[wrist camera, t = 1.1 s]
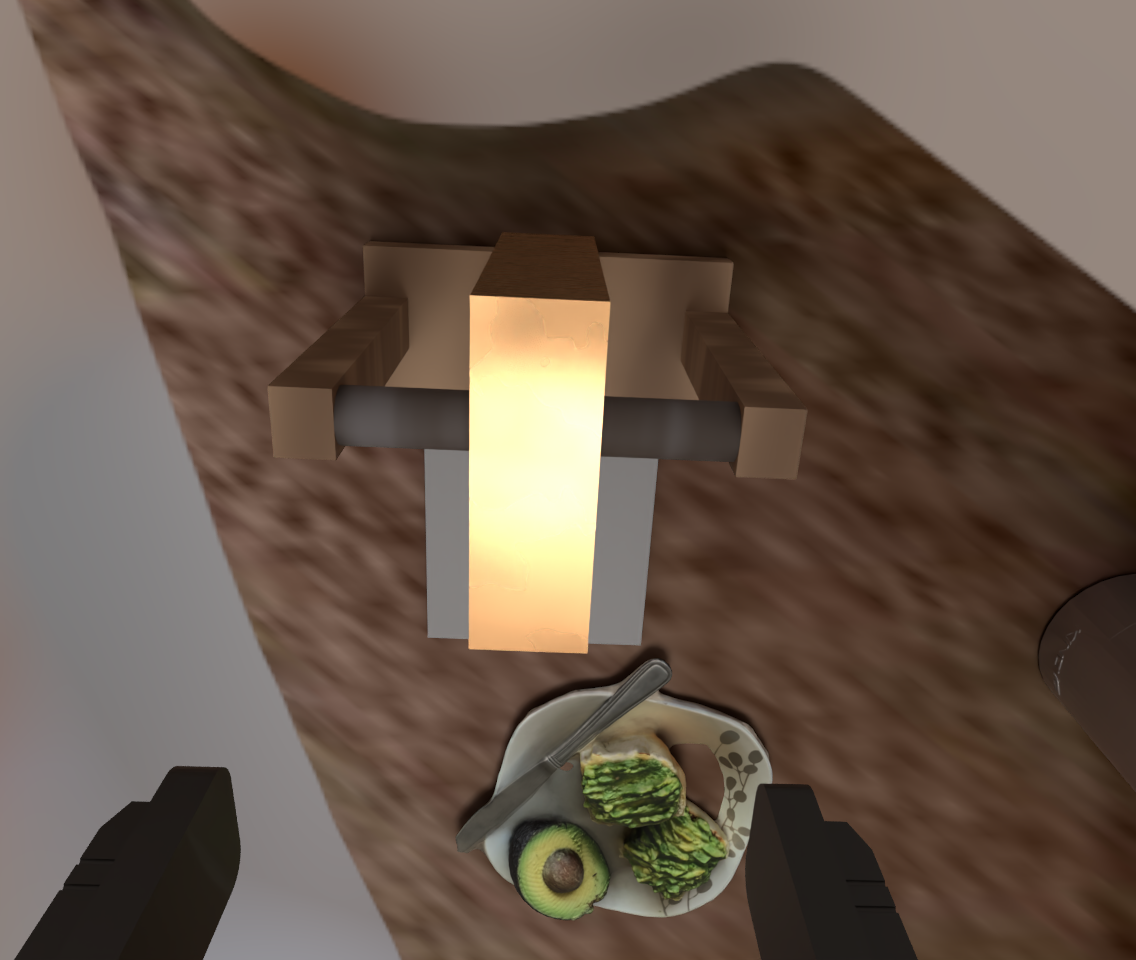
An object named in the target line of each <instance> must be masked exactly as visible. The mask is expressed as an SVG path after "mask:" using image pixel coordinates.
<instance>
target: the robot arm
mask: <svg viewBox="0 0 1136 960" xmlns="http://www.w3.org/2000/svg"><path fill="white" fill-rule="evenodd" d="M1039 668H1040V672H1041V674H1042V677H1043V680H1044V682H1045V683H1046V685H1047V686H1048V687H1049V689H1050V690H1051V691H1052V693H1053V694H1054V695H1055V696H1056V697H1057V699H1058V700H1059V701H1060V702H1061V703H1062V705H1063V706H1064V707H1065V708H1066V709H1067V710H1068V712H1069V713H1070V714H1071V715H1072V716H1073V718H1074V719H1075V720H1076V721H1077V722H1078V724H1079V725H1080V726H1081V727H1082V728H1083V730H1084V731H1085V732H1086V733H1087V735H1088V736H1089V737H1090V738H1091V739H1092V741H1093V742H1094V743H1095V744H1096V745H1097V746H1098V748H1099V749H1100V750H1101V751H1102V752H1103V754H1104V755H1105V756H1106V757H1107V758H1108V760H1109V761H1110V762H1111V763H1112V764H1113V765H1114V767H1115V768H1116V769H1117V770H1118V771H1119V773H1120V774H1121V775H1122V776H1123V777H1124V778H1125V780H1126V781H1127V782H1128V783H1129V784H1130V786H1131V787H1132V788H1133V789H1134V790H1135V791H1136V574H1132V575H1124V576H1118V577H1115V578H1112V579H1108V580H1105V581H1102V582H1100V583H1098V584H1096V585H1094V586H1092V587H1090V588H1087V589H1085V590H1084V591H1082V592H1081V593H1080V594H1078V595H1077V596H1075V597H1074V598H1073V599H1071V600H1070V601H1069V602H1068V603H1067V604H1066V605H1065V606H1064V607H1063V608H1062V609H1061V610H1060V611H1059V612H1058V613H1057V614H1056V615H1055V617H1054V618H1053V620H1052V621H1051V622H1050V624H1049V625H1048V627H1047V629H1046V631H1045V634H1044V636H1043V638H1042V640H1041V645H1040V650H1039ZM240 847H241V846H240V837H239V831H238V823H237V816H236V809H235V802H234V797H233V789H232V783H231V776H230V773H229V771H228V769H227V768H224V767H192V766H191V767H190V766H175V767H173V768H172V769H171V770H170V771H169V772H168V774H167V775H166V777H165V778H164V780H163V781H162V783H161V785H160V786H159V788H158V790H157V791H156V793H155V795H154V796H153V798H152V800H151V801H150V802H134V801H132V802H131V803H130V804H128V805H127V806H126V807H125V808H123V809H122V810H121V811H120V812H119V813H117V814H116V815H115V816H114V817H113V818H111V819H110V820H109V821H108V822H107V823H105V824H104V825H103V826H102V827H101V828H100V829H99V830H98V832H97V834H96V835H95V837H94V838H93V840H92V841H91V843H90V844H89V846H88V847H87V849H86V850H85V852H84V853H83V855H82V857H81V858H80V863H79V865H76V866H75V867H74V869H73V870H72V872H71V873H70V875H69V877H68V878H67V880H66V881H65V883H64V887H63V890H60V891H59V892H58V893H57V895H56V897H55V898H54V899H53V901H52V903H51V904H50V906H49V907H48V909H47V910H46V912H45V914H44V915H43V916H42V918H41V920H40V921H39V922H38V924H37V926H36V927H35V929H34V930H33V932H32V933H31V935H30V936H29V938H28V939H27V941H26V942H25V944H24V946H23V947H22V949H21V950H20V952H19V953H18V955H17V956H16V958H15V959H14V960H203V958H204V956H205V953H206V951H207V949H208V946H209V944H210V942H211V939H212V937H213V935H214V932H215V930H216V928H217V925H218V923H219V921H220V918H221V916H222V914H223V911H224V909H225V907H226V905H227V902H228V900H229V898H230V895H231V893H232V890H233V888H234V885H235V881H236V878H237V875H238V870H239V864H240V853H241V852H240V851H241V848H240ZM745 878H746V891H747V898H748V904H749V908H750V913H751V917H752V921H753V926H754V930H755V934H756V939H757V943H758V947H759V952H760V956H761V960H918V959H917V957H916V954H915V952H914V950H913V947H912V945H911V942H910V940H909V938H908V935H907V933H906V930H905V928H904V926H903V923H902V921H901V918H900V916H899V914H898V913H896V910H895V907H896V906H895V904H894V902H893V899H892V897H891V894H890V892H889V890H888V887H885V880H884V878H883V875H882V873H881V870H880V868H879V865H878V863H877V861H876V858H875V856H874V853H873V851H872V849H871V848H870V847H869V846H868V845H867V844H866V843H865V841H864V840H863V839H862V838H861V837H860V836H859V835H858V834H857V833H856V832H855V830H854V829H853V828H852V827H851V826H850V825H849V824H848V823H847V822H831V821H824V819H823V817H822V814H821V811H820V809H819V806H818V803H817V800H816V798H815V795H814V792H813V790H812V788H811V787H810V786H809V785H803V784H765V783H761V784H759V785H758V787H757V791H756V796H755V802H754V809H753V815H752V822H751V828H750V835H749V841H748V848H747V854H746V865H745Z"/></svg>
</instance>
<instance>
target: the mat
mask: <svg viewBox="0 0 1136 960" xmlns="http://www.w3.org/2000/svg"><path fill="white" fill-rule="evenodd" d="M657 467H658V459H649V458H625V457H601V456H600V468H599V483H598V498H597V513H596V529H595V544H594V559H593V574H592V589H591V604H590V620H589V635H588V643H592V644H619V645H641V637H642V626H643V616H644V605H645V594H646V584H647V573H648V562H649V552H650V541H651V531H652V520H653V509H654V499H655V488H656V477H657ZM425 504H426V558H427V612H428V637H430V638H457V639H469V451H459V450H435V449H425Z"/></svg>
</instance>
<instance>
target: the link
mask: <svg viewBox="0 0 1136 960" xmlns="http://www.w3.org/2000/svg"><path fill="white" fill-rule="evenodd" d="M609 316H610V298H609V294H608V290H607V286H606V282H605V278H604V274H603V270H602V266H601V262H600V258H599V254H598V250H597V246H596V242H595V238H594V237H590V236H569V235H549V234H528V233H507V232H502V234H501V236H500V238H499V240H498V242H497V244H496V246H495V248H494V250H493V252H492V253H491V255H490V257H489V259H488V261H487V263H486V265H485V267H484V269H483V271H482V273H481V275H480V277H479V279H478V281H477V283H476V285H475V286H474V288H473V290H472V292H471V294H470V429H469V649H481V650H508V651H535V652H562V653H587V650H588V635H589V620H590V604H591V589H592V574H593V559H594V544H595V529H596V513H597V498H598V483H599V468H600V453H601V438H602V423H603V407H604V392H605V377H606V362H607V347H608V332H609Z"/></svg>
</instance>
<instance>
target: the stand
mask: <svg viewBox="0 0 1136 960" xmlns="http://www.w3.org/2000/svg"><path fill="white" fill-rule="evenodd" d="M494 248H495V247H483V246H462V245H441V244H420V243H399V242H378V241H369V242H367V243H366V244H364V245H363V262H364V285H365V297H364V298H362V299H361V300H360V301H359V302H358V303H357V304H356V305H355V306H354V307H353V308H352V309H350V310H349V311H348V312H347V313H346V314H345V315H344V316H343V317H342V318H341V319H340V320H339V321H337V322H336V323H335V324H334V325H333V326H332V327H331V328H330V329H329V330H328V331H327V332H326V333H324V334H323V335H322V336H321V337H320V338H319V339H318V340H317V341H316V342H315V343H314V344H313V345H311V346H310V347H309V348H308V349H307V350H306V351H305V352H304V353H303V354H302V355H301V356H299V357H298V358H297V359H296V360H295V361H294V362H293V363H292V364H291V365H290V366H289V367H288V368H286V369H285V370H284V371H283V372H282V373H281V374H280V375H279V376H278V377H277V378H276V379H275V380H273V381H272V382H271V383H270V384H269V385H268V386H267V388H268V399H269V410H270V421H271V432H272V443H273V454H274V458H295V459H319V460H337V458H338V456H339V455H340V453H341V452H342V450H343V449H344V447H345V446H363V447H387V448H411V449H435V450H459V451H469V429H470V294H471V292H472V290H473V288H474V286H475V285H476V283H477V281H478V279H479V277H480V275H481V273H482V271H483V269H484V267H485V265H486V263H487V261H488V259H489V257H490V255H491V253H492V252H493V250H494ZM598 254H599V258H600V262H601V266H602V270H603V274H604V278H605V282H606V286H607V290H608V294H609V298H610V316H609V332H608V347H607V362H606V377H605V392H604V407H603V423H602V438H601V453H600V456H601V457H625V458H649V459H672V460H696V461H720V462H729V464H730V466H731V468H732V470H733V473H734V475H735V477H750V478H774V479H796V478H797V472H798V466H799V460H800V453H801V447H802V441H803V435H804V429H805V423H806V416H807V408H806V407H805V406H804V405H803V404H802V402H801V401H800V400H799V399H798V397H797V396H796V395H795V394H794V393H793V391H792V390H791V389H790V388H789V387H788V385H787V384H786V383H785V382H784V380H783V379H782V378H781V377H780V376H779V374H778V373H777V372H776V371H775V370H774V368H773V367H772V366H771V365H770V364H769V362H768V361H767V360H766V359H765V357H764V356H763V355H762V354H761V353H760V351H759V350H758V349H757V348H756V347H755V345H754V344H753V343H752V342H751V340H750V339H749V338H748V337H747V336H746V334H745V333H744V332H743V331H742V330H741V328H740V327H739V326H738V325H737V324H736V322H735V321H734V320H733V319H732V317H731V316H730V315H729V314H728V306H729V298H730V289H731V281H732V272H733V264H734V263H733V262H732V261H731V260H729V259H728V258H715V257H694V256H673V255H652V254H631V253H610V252H598Z"/></svg>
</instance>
